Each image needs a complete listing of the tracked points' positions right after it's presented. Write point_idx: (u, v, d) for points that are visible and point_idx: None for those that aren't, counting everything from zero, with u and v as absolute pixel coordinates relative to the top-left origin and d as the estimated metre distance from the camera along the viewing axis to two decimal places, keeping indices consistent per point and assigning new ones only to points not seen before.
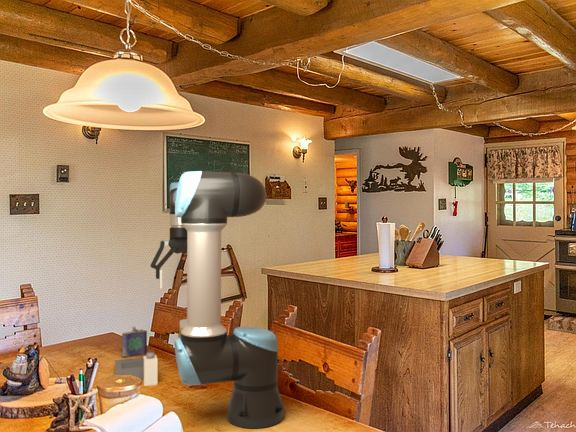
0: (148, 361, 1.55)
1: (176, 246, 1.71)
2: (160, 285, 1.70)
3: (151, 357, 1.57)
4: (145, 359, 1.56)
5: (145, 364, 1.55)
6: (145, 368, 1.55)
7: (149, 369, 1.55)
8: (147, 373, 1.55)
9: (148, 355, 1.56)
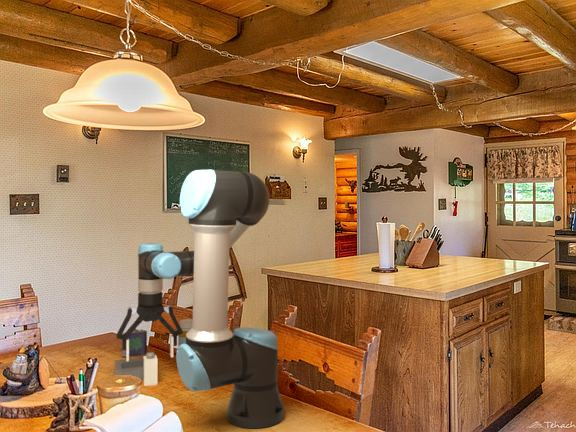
0: (148, 361, 1.55)
1: (145, 314, 1.55)
2: (127, 357, 1.54)
3: (151, 357, 1.57)
4: (145, 359, 1.56)
5: (145, 364, 1.55)
6: (145, 368, 1.55)
7: (149, 369, 1.55)
8: (147, 373, 1.55)
9: (148, 355, 1.56)
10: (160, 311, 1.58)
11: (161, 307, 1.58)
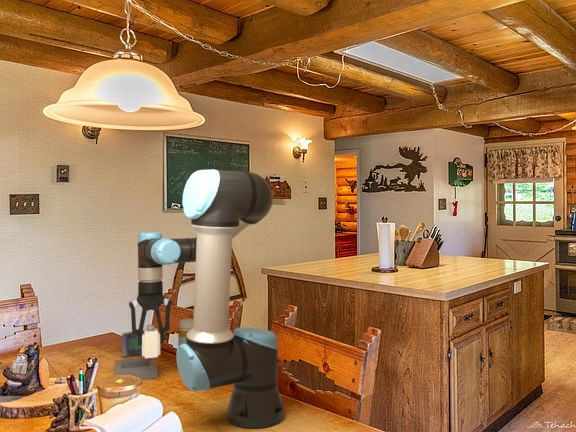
0: (148, 333, 1.55)
1: (146, 303, 1.55)
2: (143, 352, 1.55)
3: (151, 329, 1.56)
4: (145, 331, 1.55)
5: (145, 336, 1.54)
6: (146, 340, 1.54)
7: (149, 341, 1.55)
8: (147, 345, 1.54)
9: (148, 327, 1.56)
10: (160, 300, 1.57)
11: (162, 296, 1.58)
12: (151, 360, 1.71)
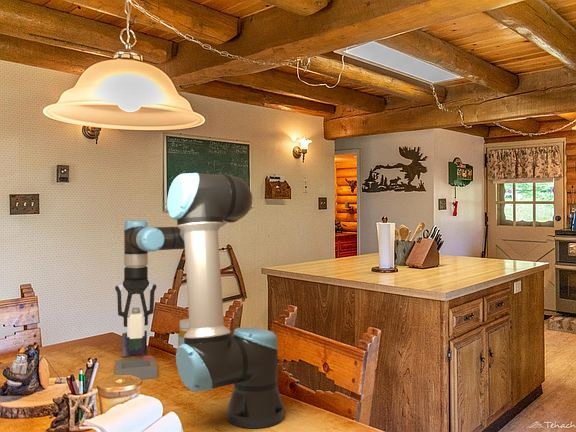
0: (133, 315, 1.64)
1: (131, 287, 1.64)
2: (128, 333, 1.64)
3: (136, 312, 1.66)
4: (130, 314, 1.65)
5: (130, 318, 1.64)
6: (131, 322, 1.64)
7: (134, 323, 1.64)
8: (132, 327, 1.64)
9: (133, 310, 1.65)
10: (144, 284, 1.66)
11: (147, 281, 1.67)
12: (151, 360, 1.71)
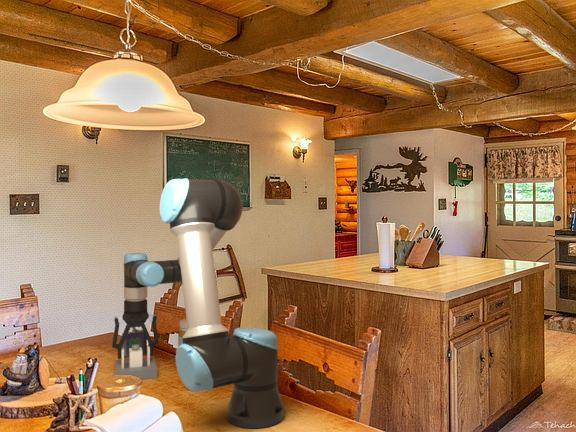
0: (133, 353, 1.64)
1: (131, 321, 1.64)
2: (122, 365, 1.64)
3: (136, 349, 1.66)
4: (130, 351, 1.65)
5: (130, 355, 1.64)
6: (131, 359, 1.64)
7: (134, 360, 1.64)
8: (132, 364, 1.64)
9: (133, 347, 1.66)
10: (144, 317, 1.66)
11: (146, 314, 1.67)
12: (151, 360, 1.71)
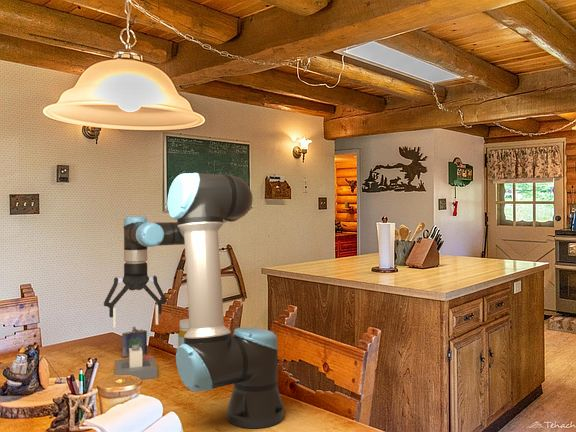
0: (133, 353, 1.64)
1: (130, 283, 1.64)
2: (113, 324, 1.63)
3: (136, 349, 1.66)
4: (130, 351, 1.65)
5: (130, 355, 1.64)
6: (131, 359, 1.64)
7: (134, 360, 1.64)
8: (132, 364, 1.64)
9: (133, 347, 1.65)
10: (145, 280, 1.66)
11: (146, 277, 1.67)
12: (151, 360, 1.71)
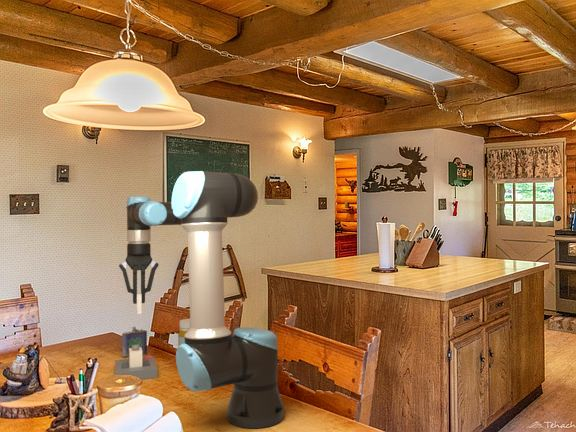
0: (133, 353, 1.64)
1: (135, 264, 1.63)
2: (137, 310, 1.64)
3: (136, 349, 1.66)
4: (130, 351, 1.65)
5: (130, 355, 1.64)
6: (131, 359, 1.64)
7: (134, 360, 1.64)
8: (132, 364, 1.64)
9: (133, 347, 1.66)
10: (147, 261, 1.66)
11: (150, 258, 1.66)
12: (151, 360, 1.71)
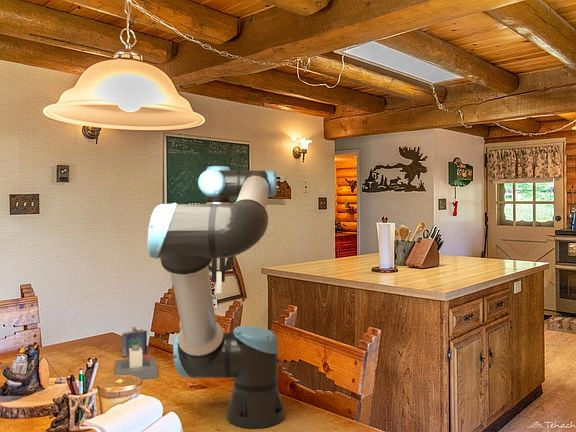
0: (133, 353, 1.64)
1: None
2: (217, 289, 1.52)
3: (136, 349, 1.66)
4: (130, 351, 1.65)
5: (130, 355, 1.64)
6: (131, 359, 1.64)
7: (134, 360, 1.64)
8: (132, 364, 1.64)
9: (133, 347, 1.66)
10: None
11: None
12: (151, 360, 1.71)
